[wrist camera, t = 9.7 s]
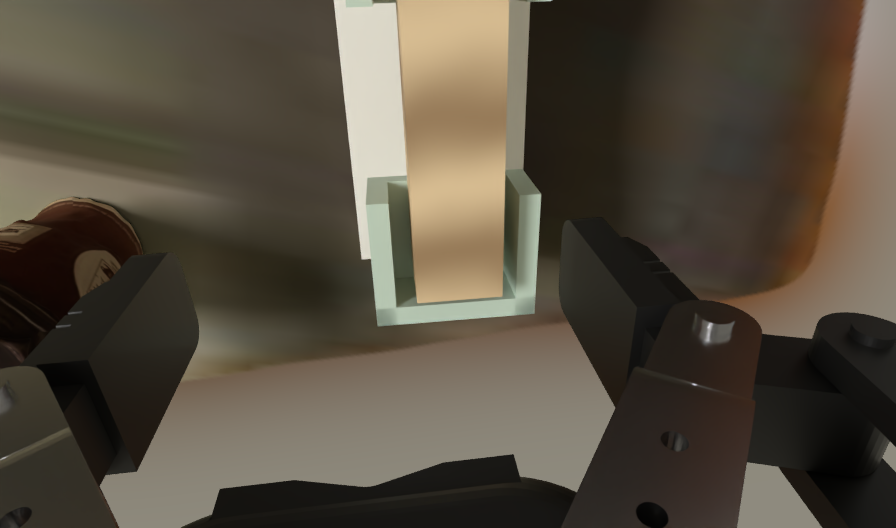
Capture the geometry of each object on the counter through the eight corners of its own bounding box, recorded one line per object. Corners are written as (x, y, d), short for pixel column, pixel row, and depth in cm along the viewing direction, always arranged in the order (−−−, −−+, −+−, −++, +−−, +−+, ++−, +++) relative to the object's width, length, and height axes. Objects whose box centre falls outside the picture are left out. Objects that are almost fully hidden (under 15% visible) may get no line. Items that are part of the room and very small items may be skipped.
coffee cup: (179, 206, 33) (71, 330, 21) (159, 320, 36) (57, 480, 24) (13, 160, 30) (-208, 270, 19) (8, 285, 34) (-183, 444, 22)
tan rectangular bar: (387, -127, 22) (389, -151, 18) (488, -128, 22) (512, -152, 18) (412, 259, 29) (417, 303, 25) (486, 254, 30) (502, 296, 26)
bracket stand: (319, -156, 26) (293, -214, 18) (530, -157, 26) (593, -213, 19) (362, 250, 35) (357, 328, 27) (515, 240, 36) (553, 312, 28)
